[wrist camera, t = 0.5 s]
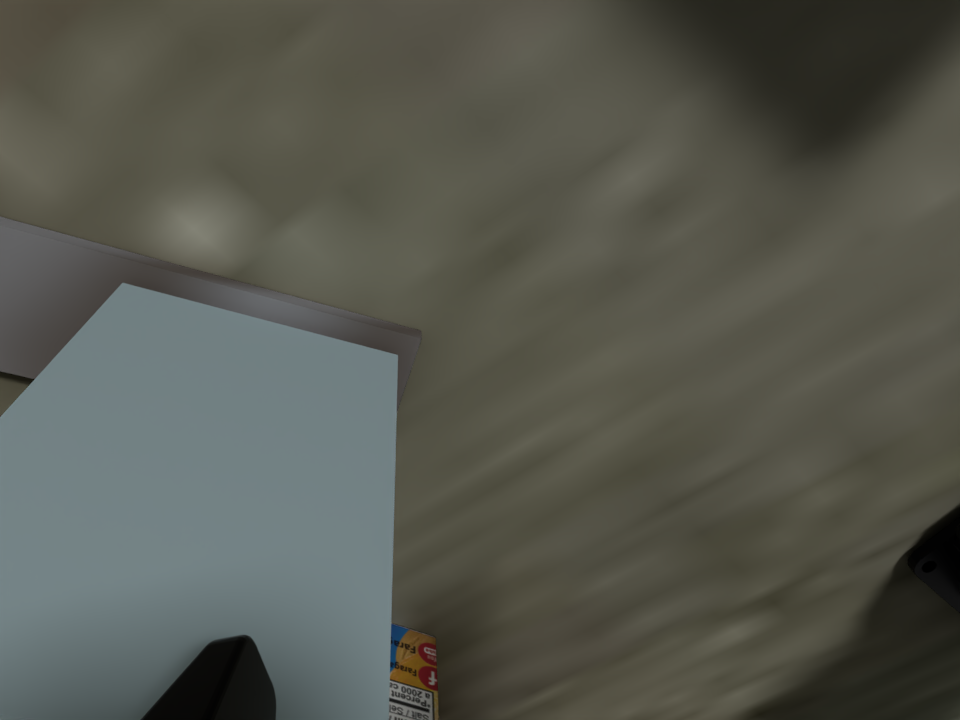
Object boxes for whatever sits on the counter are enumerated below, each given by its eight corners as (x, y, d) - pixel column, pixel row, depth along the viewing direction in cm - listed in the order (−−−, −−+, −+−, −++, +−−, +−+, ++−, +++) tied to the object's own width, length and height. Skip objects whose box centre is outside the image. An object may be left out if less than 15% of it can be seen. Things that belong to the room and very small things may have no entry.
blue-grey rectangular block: (398, 355, 21) (387, 770, 10) (365, 454, 22) (326, 916, 11) (122, 282, 19) (-240, 679, 8) (105, 393, 20) (-226, 860, 10)
